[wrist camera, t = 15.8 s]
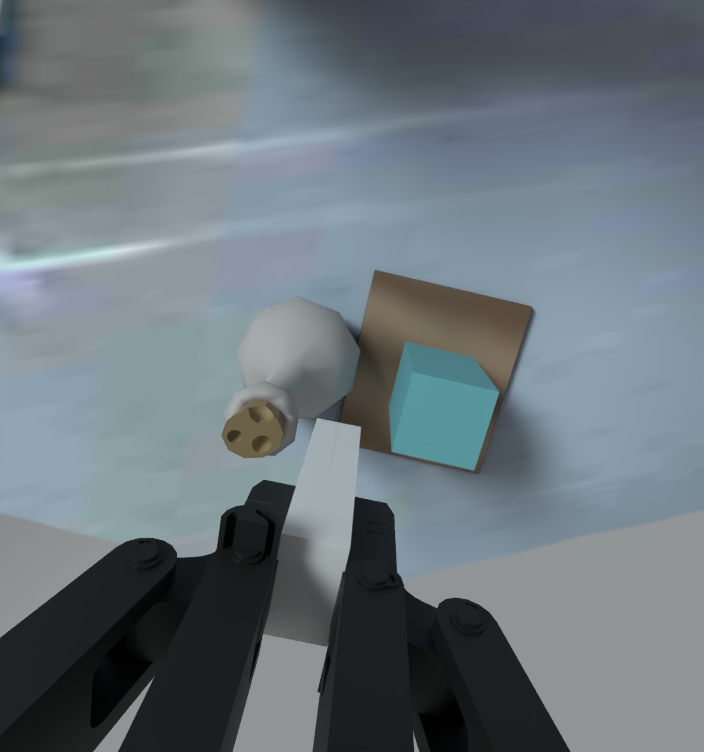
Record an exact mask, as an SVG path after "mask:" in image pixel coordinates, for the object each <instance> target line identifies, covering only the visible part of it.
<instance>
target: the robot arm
mask: <svg viewBox="0 0 704 752" xmlns="http://www.w3.org/2000/svg"><path fill="white" fill-rule="evenodd" d="M360 433H361V427H358V426H354V425H349V424H344V423H339V422H334V421H329V420H324V419H319V418H317V420H316V423H315V427H314V430H313V433H312V436H311V439H310V443H309V446H308V449H307V452H306V456H305V459H304V462H303V465H302V468H301V472H300V475H299V478H298V481H297V485H296V486H292V485H287V484H283V483H278V482H273V481H268V480H263V481H261V482H260V483H258V484H257V485H256V486H254V487H253V488H252V490H251V492H250V494H249V496H248V498H247V500H246V502H245V505H242V506H236V507H233V508H231V509H229V510H227V511H226V512H225V513H224V514H223V515H222V516H221V522H220V530H219V537H218V544H217V549H216V551H215V552H214V553H212V554H208V555H205V556H200V557H187V558H177V552H176V551H175V549H174V548H173V546H172V545H170V544H168V543H167V542H165V541H163V540H159V539H154V538H138V539H134V540H130V541H127V542H125V543H123V544H121V545H120V546H118V547H116V548H115V549H114V550H112V551H111V552H110V553H108V554H107V555H106V556H105V557H103V558H102V559H101V560H99V561H98V562H97V563H96V564H94V565H93V566H92V567H90V568H89V569H88V570H87V571H85V572H84V573H83V574H82V575H80V576H79V577H78V578H76V579H75V580H74V581H72V582H71V583H70V584H69V585H68V586H66V587H65V588H64V589H62V590H61V591H60V592H58V593H57V594H56V595H55V596H53V597H52V598H51V599H49V600H48V601H47V602H46V603H44V604H43V605H42V606H40V607H39V608H38V609H37V610H35V611H34V612H33V613H31V614H30V615H29V616H28V617H26V618H25V619H24V620H22V621H21V622H20V623H19V624H17V625H16V626H15V627H13V628H12V629H11V630H10V631H8V632H7V633H6V634H5V635H3V636H2V637H1V638H0V752H93V751H94V750H95V749H96V747H97V746H98V745H99V743H101V741H102V740H103V739H104V738H105V736H106V735H107V734H108V733H109V731H110V730H111V729H112V728H113V726H114V725H115V724H116V723H117V722H118V720H119V719H120V718H121V717H122V715H123V714H124V713H125V712H126V711H127V709H128V708H129V707H130V706H131V704H132V703H133V702H134V701H135V699H136V698H137V697H138V696H139V695H140V693H141V692H142V691H143V689H144V688H145V687H146V686H147V685H148V683H149V682H150V681H151V680H152V679H153V677H154V676H155V677H154V679H153V681H152V683H151V685H150V687H149V689H148V691H147V693H146V696H145V698H144V700H143V702H142V704H141V706H140V708H139V710H138V712H137V714H136V716H135V718H134V720H133V722H132V725H131V726H130V729H129V731H128V733H127V735H126V737H125V739H124V741H123V743H122V745H121V747H120V749H119V751H118V752H233V748H234V744H235V741H236V737H237V733H238V730H239V726H240V722H241V719H242V715H243V711H244V708H245V704H246V700H247V696H248V693H249V689H250V686H251V682H252V678H253V675H254V671H255V667H256V663H257V660H258V656H259V651H260V647H261V641H262V635H263V634H266V635H271V636H277V637H282V638H286V639H292V640H296V641H302V642H306V643H311V644H316V645H322V646H328V649H327V653H326V658H325V662H324V666H323V671H322V675H321V679H320V683H319V688H318V692H319V693H320V698H319V706H318V713H317V721H316V729H315V737H314V745H313V752H414V742H413V732H414V735H415V738H416V742H417V746H418V749H419V752H570V750H569V748H568V747H567V745H566V743H565V741H564V740H563V738H562V736H561V734H560V733H559V731H558V729H557V727H556V726H555V724H554V722H553V720H552V718H551V717H550V715H549V713H548V712H547V710H546V708H545V707H544V704H543V703H542V701H541V699H540V697H539V696H538V694H537V692H536V690H535V688H534V687H533V685H532V683H531V681H530V680H529V678H528V676H527V674H526V673H525V671H524V669H523V668H522V666H521V664H520V662H519V660H518V659H517V657H516V655H515V653H514V651H513V650H512V648H511V646H510V644H509V643H508V641H507V639H506V637H505V636H504V634H503V632H502V630H501V629H500V627H499V625H498V623H497V622H496V620H495V619H494V618H493V616H492V615H491V614H490V613H489V612H488V611H487V610H485V609H484V608H483V607H481V606H480V605H478V604H476V603H474V602H472V601H469V600H466V599H461V598H450V599H445V600H444V601H442V602H441V603H440V604H439V606H438V608H435V607H433V606H431V605H429V604H426V603H424V602H422V601H420V600H419V599H417V598H415V597H414V596H412V595H411V594H410V593H408V592H407V591H406V590H405V588H404V584H403V581H402V578H401V577H400V575H399V574H398V573H397V563H396V542H395V529H394V528H395V522H394V514H393V512H392V511H391V509H390V508H389V506H388V505H387V503H383V502H378V501H373V500H368V499H363V498H358V497H355V489H356V478H357V467H358V455H359V444H360Z"/></svg>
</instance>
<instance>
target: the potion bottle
mask: <svg viewBox="0 0 704 752" xmlns="http://www.w3.org/2000/svg"><path fill="white" fill-rule="evenodd" d="M359 354H360V349H359V347H358V345H357V343H356V342H355V340H354V338H353V336H352V334H351V333H350V331H349V329H348V327H347V325H346V324H345V322H344V320H343V318H342V316H341V315H340V313H339V312H337V311H334V310H332V309H329V308H326V307H324V306H321V305H319V304H316V303H314V302H311V301H309V300H306V299H304V298H301V297H295V298H292V299H289V300H286V301H283V302H281V303H278V304H275V305H272V306H269V307H266V308H263V309H260V310H258V311H257V313H256V314H255V316H254V318H253V320H252V322H251V323H250V325H249V327H248V329H247V331H246V332H245V334H244V336H243V338H242V340H241V341H240V343H239V345H238V349H237V357H238V361H239V366H240V371H241V375H242V380H243V384H244V388H243V389H241V390H239V391H237V392H236V393H235V394H234V395H233V397H232V399H231V401H230V403H229V404H228V406H227V408H226V410H225V411H224V413H223V417H224V421H225V427H224V430H223V433H222V438H223V440H224V442H225V444H226V446H227V448H228V450H230V451H232V452H233V453H235V454H237V455H239V456H241V457H243V458H258V457H265V456H266V455H268V456H275V455H276V454H278V453H279V452H280V451H282V450H283V449H284V448H286V447H287V446H288V445H290V444H291V443H292V442H294V440H295V434H296V429H297V423H298V418H316V417H317V416H319V415H320V414H321V413H323V412H324V411H325V410H327V409H328V408H329V407H331V406H332V405H333V404H335V403H336V402H337V401H339V400H340V399H341V398H343V397H344V396H345V395H347V394H348V393H349V392H351V391H352V388H353V383H354V378H355V373H356V369H357V364H358V359H359Z"/></svg>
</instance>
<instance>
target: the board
mask: <svg viewBox="0 0 704 752" xmlns="http://www.w3.org/2000/svg"><path fill="white" fill-rule="evenodd" d="M531 310H532V307H531V306H527V305H523V304H519V303H515V302H510V301H506V300H502V299H497V298H493V297H489V296H484V295H480V294H476V293H472V292H467V291H463V290H459V289H454V288H450V287H446V286H441V285H437V284H433V283H428V282H424V281H420V280H416V279H411V278H407V277H403V276H398V275H394V274H390V273H385V272H381V271H377V270H375V272H374V276H373V280H372V285H371V289H370V293H369V298H368V302H367V306H366V311H365V315H364V319H363V323H362V328H361V332H360V336H359V341H358V347H359V349H360V354H359V359H358V364H357V369H356V373H355V378H354V383H353V388H352V391H351V392H349V393H348V394H347V395H346V397H345V401H344V405H343V409H342V414H341V418H340V422H339V423H344V424H349V425H354V426H358V427H361V433H360V444H359V447H361V448H366V449H370V450H375V451H379V452H383V453H388V454H392V455H397V456H401V457H405V458H410V459H414V460H419V461H423V462H428V463H432V464H436V465H441V466H445V467H450V468H454V469H458V470H463V471H467V472H472V473H476V474H479V471H480V468H481V465H482V462H483V458H484V455H485V452H486V449H487V446H488V443H489V440H490V437H491V434H492V431H493V428H494V425H495V421H496V418H497V415H498V412H499V409H500V406H501V403H502V400H503V397H504V394H505V391H506V388H507V384H508V381H509V378H510V375H511V372H512V369H513V366H514V363H515V360H516V357H517V354H518V351H519V347H520V344H521V341H522V338H523V335H524V332H525V329H526V326H527V323H528V320H529V317H530V314H531ZM405 341H406V342H410V343H415V344H419V345H423V346H428V347H432V348H436V349H441V350H445V351H449V352H454V353H458V354H462V355H467V356H471V357H474V359H475V360H476V361H477V363H478V364H479V365H480V367H481V368H482V369H483V371H484V372H485V373H486V375H487V376H488V377H489V379H490V380H491V381H492V383H493V384H494V385H495V387H496V388H497V389H498V391H499V395H498V398H497V401H496V404H495V407H494V410H493V414H492V417H491V420H490V423H489V426H488V429H487V432H486V435H485V438H484V442H483V445H482V448H481V451H480V454H479V457H478V460H477V463H476V467H475V470H470V469H465V468H461V467H456V466H452V465H448V464H443V463H439V462H434V461H430V460H426V459H421V458H417V457H412V456H408V455H404V454H399V453H395V452H392V449H391V433H390V417H389V403H390V399H391V395H392V391H393V387H394V384H395V380H396V376H397V372H398V368H399V364H400V360H401V357H402V353H403V349H404V345H405Z"/></svg>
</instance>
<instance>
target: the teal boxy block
mask: <svg viewBox="0 0 704 752" xmlns="http://www.w3.org/2000/svg"><path fill="white" fill-rule="evenodd" d="M498 395H499V391H498V389H497V388H496V387H495V385H494V384H493V383H492V381H491V380H490V379H489V377H488V376H487V375H486V373H485V372H484V371H483V369H482V368H481V367H480V365H479V364H478V363H477V361H476V360H475V359H474V357H471V356H467V355H462V354H458V353H454V352H449V351H445V350H441V349H436V348H432V347H428V346H423V345H419V344H415V343H410V342H406V341H405V345H404V349H403V353H402V357H401V360H400V364H399V368H398V372H397V376H396V380H395V384H394V387H393V391H392V395H391V399H390V403H389V417H390V433H391V449H392V452H395V453H399V454H404V455H408V456H412V457H417V458H421V459H426V460H430V461H434V462H439V463H443V464H448V465H452V466H456V467H461V468H465V469H470V470H475V467H476V463H477V460H478V457H479V454H480V451H481V448H482V445H483V442H484V438H485V435H486V432H487V429H488V426H489V423H490V420H491V417H492V414H493V410H494V407H495V404H496V401H497V398H498Z"/></svg>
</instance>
